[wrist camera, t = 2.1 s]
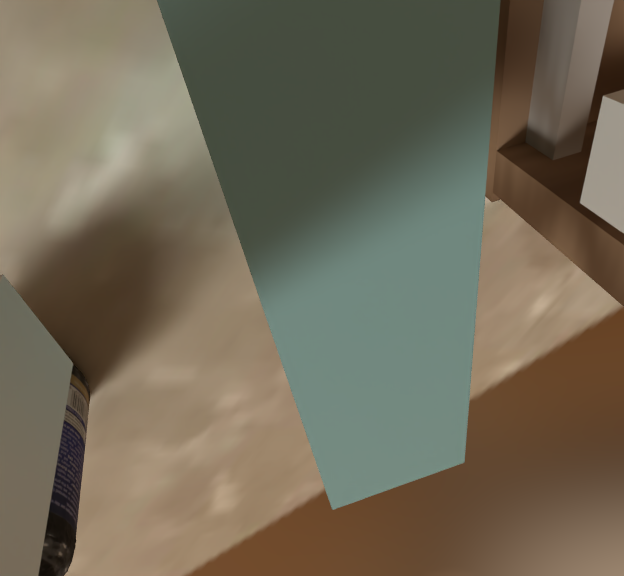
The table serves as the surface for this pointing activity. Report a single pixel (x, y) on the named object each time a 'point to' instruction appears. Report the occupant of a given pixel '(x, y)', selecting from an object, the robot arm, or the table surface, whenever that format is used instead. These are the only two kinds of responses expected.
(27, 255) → the table surface
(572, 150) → the wooden desk organizer
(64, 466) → the pill bottle
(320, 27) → the green rectangular box
